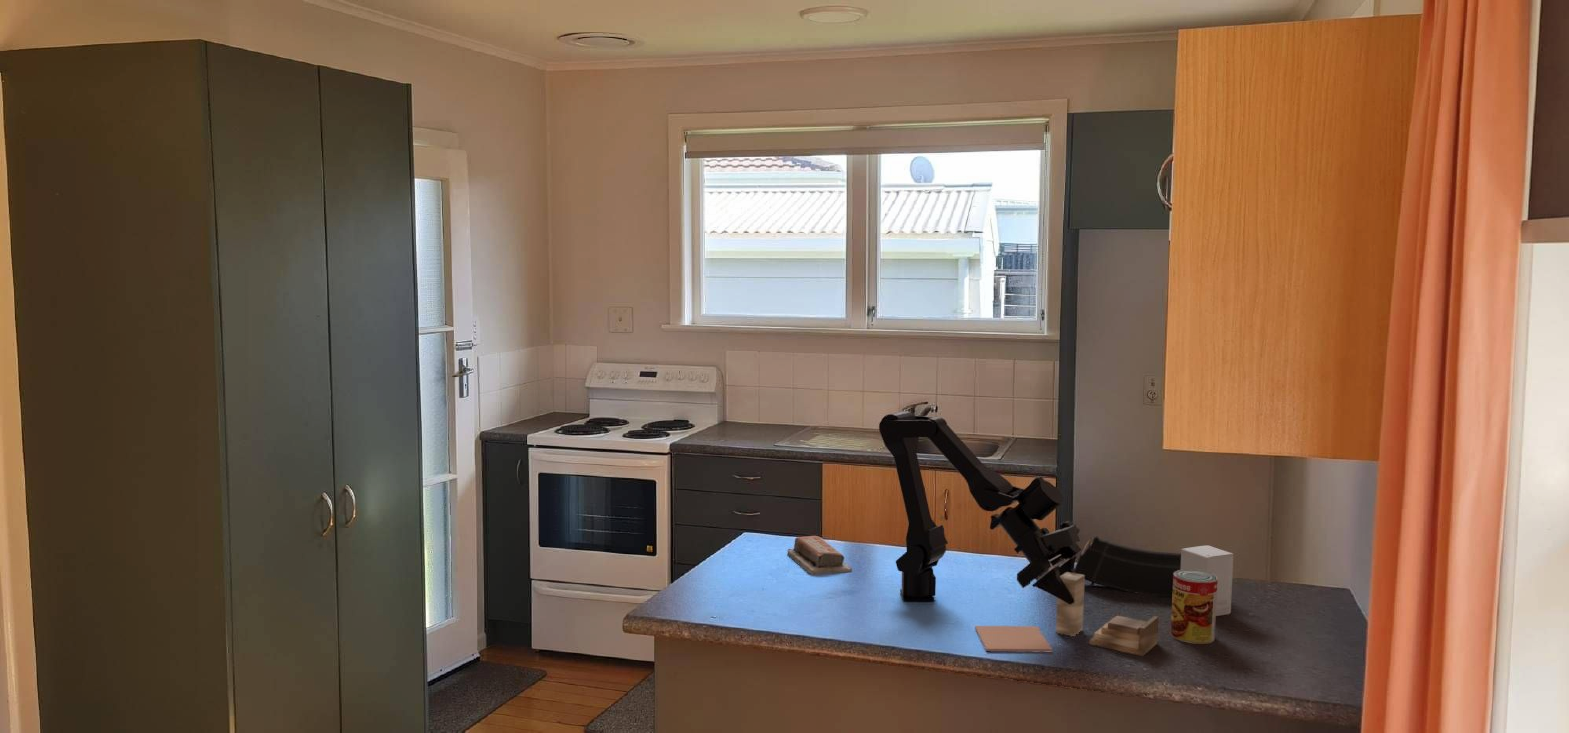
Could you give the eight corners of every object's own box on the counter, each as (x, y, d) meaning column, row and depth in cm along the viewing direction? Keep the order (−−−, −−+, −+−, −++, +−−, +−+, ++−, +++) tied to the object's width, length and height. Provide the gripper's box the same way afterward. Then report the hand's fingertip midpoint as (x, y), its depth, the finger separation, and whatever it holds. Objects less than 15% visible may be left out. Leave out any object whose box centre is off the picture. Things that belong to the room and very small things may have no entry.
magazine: (1238, 559, 231) (1098, 505, 240) (1238, 563, 228) (1097, 508, 237) (1208, 631, 235) (1072, 575, 244) (1208, 636, 232) (1070, 579, 241)
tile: (986, 651, 201) (986, 648, 201) (975, 628, 213) (975, 625, 213) (1051, 652, 201) (1052, 649, 201) (1036, 629, 213) (1037, 626, 213)
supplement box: (1231, 614, 223) (1235, 553, 222) (1203, 618, 220) (1206, 557, 219) (1205, 603, 230) (1208, 544, 228) (1177, 607, 227) (1180, 547, 226)
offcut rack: (1089, 644, 206) (1090, 617, 205) (1105, 632, 212) (1106, 605, 211) (1142, 656, 200) (1144, 628, 199) (1157, 643, 206) (1158, 616, 205)
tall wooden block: (1056, 632, 211) (1058, 577, 210) (1065, 626, 215) (1067, 571, 214) (1073, 636, 209) (1075, 580, 208) (1082, 630, 213) (1084, 575, 212)
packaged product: (786, 535, 263) (825, 532, 266) (786, 555, 264) (825, 552, 267) (811, 556, 246) (852, 552, 249) (810, 577, 247) (852, 573, 250)
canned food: (1166, 628, 214) (1169, 568, 213) (1207, 630, 214) (1211, 570, 212) (1176, 643, 207) (1179, 580, 205) (1219, 644, 206) (1223, 582, 204)
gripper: (1034, 519, 204) (1089, 588, 199) (1073, 501, 219) (1125, 565, 214) (994, 553, 210) (1046, 621, 205) (1034, 533, 225) (1084, 596, 219)
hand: (1077, 599), depth 211 cm, fingers closed on tall wooden block, 4 cm apart
